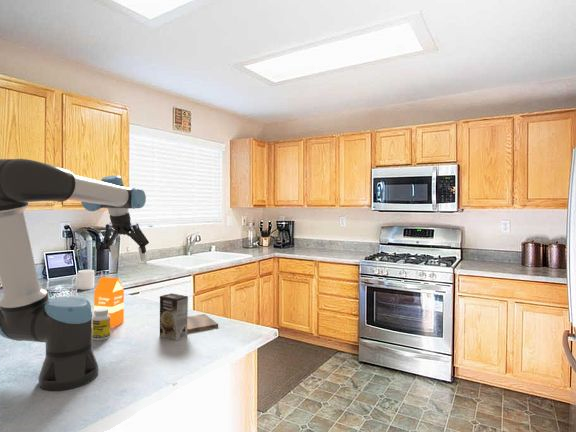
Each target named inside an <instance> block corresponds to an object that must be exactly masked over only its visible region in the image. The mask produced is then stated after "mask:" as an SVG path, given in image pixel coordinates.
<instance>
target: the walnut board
mask: <svg viewBox="0 0 576 432" xmlns="http://www.w3.org/2000/svg"><path fill="white" fill-rule="evenodd" d="M215 328H219V323H218V322H217V321H215V320H213V319H212V318H211V317H210V316H208V315H207V314H205V313H202V314H197V315H191V316H190V315H189V316H187V334H190V333H195V332H200V331H206V330H212V329H215Z"/></svg>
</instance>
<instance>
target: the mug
mask: <svg viewBox="0 0 576 432" xmlns="http://www.w3.org/2000/svg"><path fill="white" fill-rule="evenodd" d="M74 279H77V281H78V282H77V284H75V283H74ZM71 284H72V286H73V285H76V286H77V287H76V288H78V290H81V291H82V290H83V291H86V290H87V291H88V290H92V289H95V270H94V269H81V270H78V272H77V273H76V274H75V275H73V276H72V279H71Z"/></svg>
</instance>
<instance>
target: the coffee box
mask: <svg viewBox="0 0 576 432" xmlns="http://www.w3.org/2000/svg"><path fill="white" fill-rule="evenodd" d="M188 304H189V297H188V295H183V294H177V293H168V294H163V295H160V296H159V337H160V338H164V339H167V340H171V341H174V342H177V341H180V340H182V339H185V338H187V337H188V333H187V317H189V315H188V312H189V311H188V309H189V305H188Z"/></svg>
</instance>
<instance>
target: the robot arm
mask: <svg viewBox="0 0 576 432" xmlns="http://www.w3.org/2000/svg"><path fill="white" fill-rule="evenodd" d="M124 185H125V184H124V182H123V178H122V177H121V176H120V175H115V174H114V175H107V176H103V177H102V179H101V181H100V180H97V179H92V178H89V177H84V176H80V175H77V174H74V173H73V172H71V170H69V169H66V168H63V167H60V166H59V167H58V166H56V165H52V164H48V163H44V162H42V161H37V160H33V159H27V158H25V159H24V158H0V283H1V287H2V291H3V295H4V296H3V297H2V298H1V300H0V336H1V337H3V338H5V339H8V340H13V341H18V342H19V341H20V342H22V341H24V342H34V343H35V342H37V343H45V357H44V360H43V363H42V366H41V369H40V371H39V375H38V387H39V388H40V389H42V390H45V391H50V392H51V391H65V390H71V389H74V388H77V387H80V386H83V385H86V384H89V383H90V382H91V381H93V380H94V379H96V377H97V376H98V375H99V364H98V362H97V359H96V357H95V353H94V352H93V349H92V346H93V345H92V340H93V339H92V318H93V312H92V305H91V303H90V301H89V300H88V299H86V298H84V297H78V296H71V295H70V296H58V297H53V298H50V299H49V294H48V291H47V289H44V288H43V287H41V286H40V282H39V277H38V273H37V268H36V264H35V260H34V255H33V248H32V245H31V241H30V237H29V231H28V227H27V222H26V218H25V213H24V211H25V210H26V208H27V207H29V203H34V202H35V203H36V202H59V203H62V202H63V203H64V202H66V201H68V200H69V201H74V202H75V201H76V202H81V206H82V207H83V208H84V209H85V210H86V211H89V212H96V211H99V210H100V209H107V211H108V214H109V220H110V222H108V223H107V224H105V232H104V235H103V236H104V237H103V239H102V244H103V245H107V248H108V251H109V253H110V254H111V259H112V261H115V260H116V259H118V257H119V256H118V251H117V248H116V243H114V242H115V240H116V238H117V236H118V235H120V236H121V235H123V236H128V237H130V238H131V240H132V241H134V242H135V243H136V244H137V245H138V247H137V248H138V253H139V258H140V262H144V261H145V260H146V259H147V255H146V253H147V248H146V246H147V245H149V243H150V242H149V240H148V239H147V237H146V235H145V234H144V233H143V231H142V229H141V227H140V225H139V223H138V222H136V223H134V224H133V223H131V214H130V212H129V210H130V209H134V210H135V209H141V208H143V207H144V206H145V204H146V201H147V200H146V199H147V196H146V193H145V191H144V190H143V189H141V188H139V187H138V188H136V187H131V188H130V187H126V186H124ZM112 230H114V231H113V232H112Z"/></svg>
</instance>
